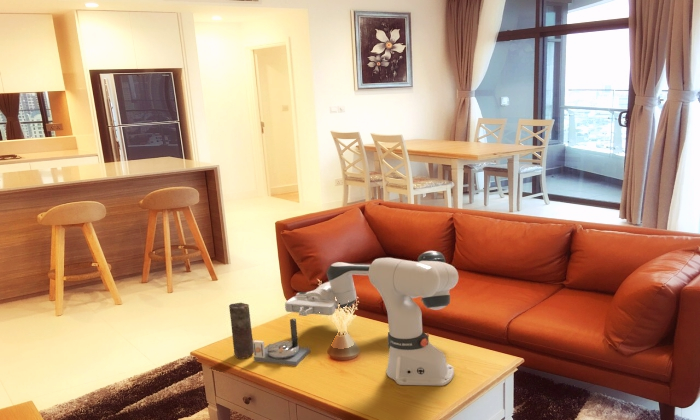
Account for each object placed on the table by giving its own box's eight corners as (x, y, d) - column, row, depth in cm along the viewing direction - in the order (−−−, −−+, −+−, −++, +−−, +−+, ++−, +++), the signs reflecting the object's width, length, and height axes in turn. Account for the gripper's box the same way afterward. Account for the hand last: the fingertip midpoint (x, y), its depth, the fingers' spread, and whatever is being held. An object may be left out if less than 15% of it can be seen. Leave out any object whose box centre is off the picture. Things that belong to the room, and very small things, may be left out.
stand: (310, 351, 214) (308, 332, 212) (295, 366, 202) (293, 346, 201) (269, 347, 220) (268, 329, 218) (253, 362, 208) (251, 342, 206)
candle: (232, 353, 216) (227, 303, 213) (251, 349, 219) (246, 299, 216) (237, 361, 210) (231, 309, 206) (256, 356, 213) (251, 305, 209)
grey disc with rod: (304, 347, 214) (301, 316, 212) (290, 360, 203) (288, 328, 201) (276, 344, 218) (273, 314, 216) (261, 357, 207) (259, 326, 205)
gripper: (341, 311, 227) (328, 323, 214) (294, 307, 234) (279, 319, 221) (340, 295, 225) (327, 307, 213) (293, 292, 233) (278, 303, 220)
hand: (302, 313), depth 217 cm, fingers closed
